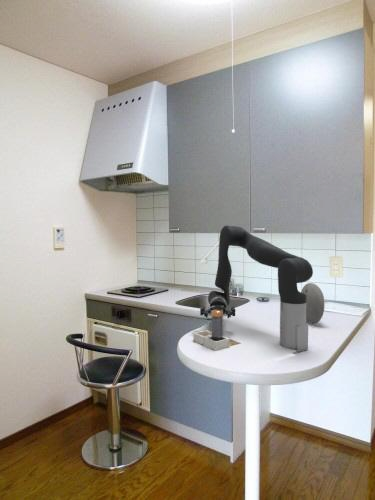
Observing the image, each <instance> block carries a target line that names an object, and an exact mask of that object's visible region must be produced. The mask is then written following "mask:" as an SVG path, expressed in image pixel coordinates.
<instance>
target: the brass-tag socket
mask: <svg viewBox="0 0 375 500" xmlns="http://www.w3.org/2000/svg"><path fill="white" fill-rule="evenodd" d="M230 339H231V338H229V337H226V336H223V340H220V341H214V340H212V336H209V337H205V338H204V345H203V346H205V347H207V348H208V347H209V348H208V349H211V350H213V351H220V350H223V349H227V348H230V347H231V346H230Z"/></svg>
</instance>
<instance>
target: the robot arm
mask: <svg viewBox="0 0 375 500" xmlns="http://www.w3.org/2000/svg"><path fill="white" fill-rule="evenodd" d="M218 239H219V241H218V243H219V244H218V258H217V261H218V264H217V270H216V275H215V280H214V286H215V287H216V288H219V289H220V290H222V291H223V292H222V291H217V290H211V291H210V292H209V293H208V296H207V302H208V306H209V307H206V306H203V305H202V306H201V307H200V309H199V312H200V313H199V315H200V316H203V317H205V319H206V318H209V317H211V311H212V310H222V311H223V317H227V319H230V318H231V317H236V308H235V306H232V307H230V308H228V307H229V305H230V301H231V299H230V298H231V297H230V283H231V279H232V273H233V270H232V269H233V268H232V265H231V263H230V259H229V247H230V246H231V247H239V248H243V249H245V250H246V253H247V255H248V256H249V257H250V258H251V259H252V260H254V261H255V262H257V263H259V264H260V265H265V266H266V267H267V266H268V267H270V268H275V269H277V287H278V289H277V290H278V294H279V297H280V298H279V299H280V301H279V302H280V303H279V346H281V347H283V348H286V349H290V350H293V351H295V352H296V353H301V352H303V351H306V350H308V349H309V322H307V320H306V295H305V294H304V293H301V291H299V289H298V284H301V283H305V282H308V281H309V280H310V279H311V278H312V277H313V274H314V270H313V266H312V264H311V263H310V261H308V260H307V258H306V259H305V258H303V257H301V256H298V255H295V254H293V253H289V252H287V251H285V250H283V249H282V248H280V247H278V246H276V245H274V244H272V243H271V242H268V241H267V240H264V239H262V238H260V237H257V236H255V235H253V234H252V233H250V232H249V231H247V230H246V229H244V228H243V227H240V226H235V225H224V226H223V227H222V228H221V229H220V233H219V238H218Z"/></svg>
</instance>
